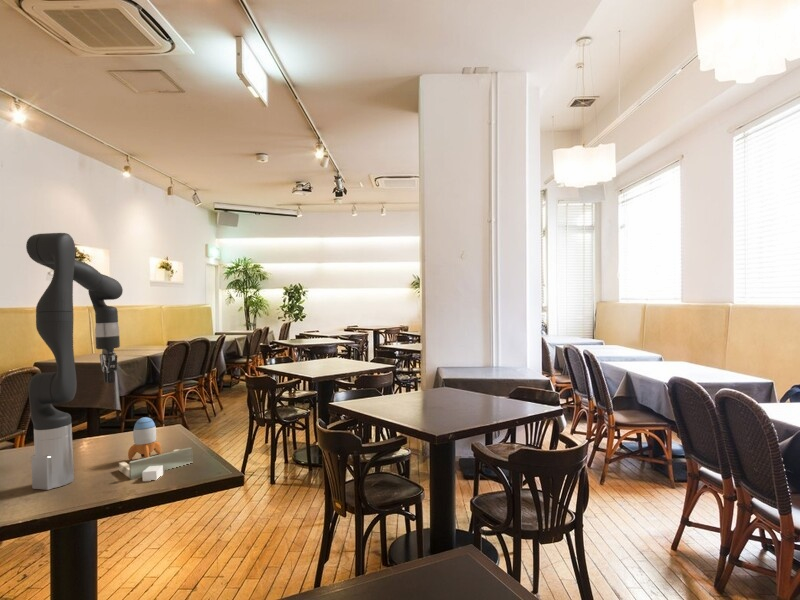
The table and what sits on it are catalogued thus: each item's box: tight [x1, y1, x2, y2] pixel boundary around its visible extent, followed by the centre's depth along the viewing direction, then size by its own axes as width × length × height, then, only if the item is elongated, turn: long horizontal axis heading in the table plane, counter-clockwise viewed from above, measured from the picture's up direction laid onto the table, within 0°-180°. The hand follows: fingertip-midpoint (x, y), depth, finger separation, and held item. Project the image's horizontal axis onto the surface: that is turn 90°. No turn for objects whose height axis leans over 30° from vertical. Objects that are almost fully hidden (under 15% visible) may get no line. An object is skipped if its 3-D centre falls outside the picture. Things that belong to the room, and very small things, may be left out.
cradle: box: [118, 446, 194, 480], centre depth 156 cm, size 13×18×5 cm
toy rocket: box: [127, 416, 162, 461], centre depth 165 cm, size 10×11×15 cm
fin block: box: [141, 465, 164, 482], centre depth 146 cm, size 5×4×3 cm
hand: (109, 382), depth 176 cm, fingers open, 4 cm apart
